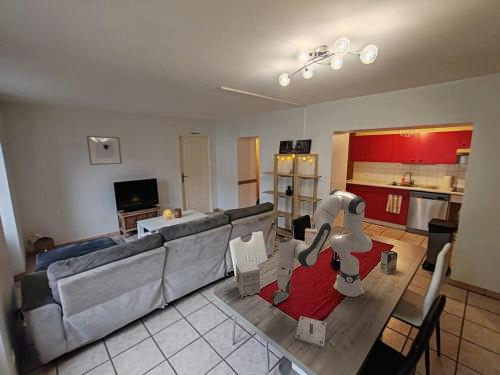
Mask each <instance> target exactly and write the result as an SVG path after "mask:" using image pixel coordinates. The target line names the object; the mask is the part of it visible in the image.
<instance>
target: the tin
mask: <svg viewBox="0 0 500 375" xmlns="http://www.w3.org/2000/svg"><path fill="white" fill-rule="evenodd" d="M289 297H290V293H285V292H281V289H279V288H278V289H276V290H275V291H273V292H272V293H271V295H270V303H272V305H275V306H277V305H279V304H281V303H283V302H284V300H285V301H286V300H287V299H288V298H289ZM282 301H283V302H282ZM280 302H281V303H280ZM278 303H279V304H278Z"/></svg>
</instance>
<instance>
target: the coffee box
mask: <svg viewBox="0 0 500 375" xmlns="http://www.w3.org/2000/svg"><path fill="white" fill-rule="evenodd" d="M380 255H381V256H380V257H381V258H380V269H379V272H381V273H383V274H385V275H391V274H396V273H397V263H398V252H396V251H394V250H391V249H388V250H383V251H381V254H380Z"/></svg>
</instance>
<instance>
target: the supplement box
mask: <svg viewBox="0 0 500 375" xmlns="http://www.w3.org/2000/svg"><path fill="white" fill-rule="evenodd" d="M260 269H261V268H259V266H258V265H257V264H256V262H255V261H254V260H250V261H248V260H247V261H243V262H239V263H235V277H236V278H235V280H236V282H235V283H236V289H237V288H238V289H237V290H238V292H239V294H240V296H241V295H242V296H241V298H244V297H243V296H246V297H248V296H247V295H251V294H255V293H259V292H260V293H261V270H260ZM260 293H259V294H260ZM255 295H256V294H255ZM251 296H252V295H251Z"/></svg>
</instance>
